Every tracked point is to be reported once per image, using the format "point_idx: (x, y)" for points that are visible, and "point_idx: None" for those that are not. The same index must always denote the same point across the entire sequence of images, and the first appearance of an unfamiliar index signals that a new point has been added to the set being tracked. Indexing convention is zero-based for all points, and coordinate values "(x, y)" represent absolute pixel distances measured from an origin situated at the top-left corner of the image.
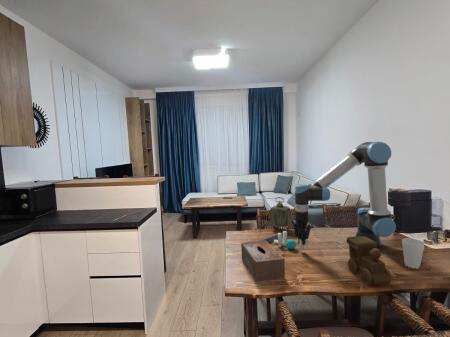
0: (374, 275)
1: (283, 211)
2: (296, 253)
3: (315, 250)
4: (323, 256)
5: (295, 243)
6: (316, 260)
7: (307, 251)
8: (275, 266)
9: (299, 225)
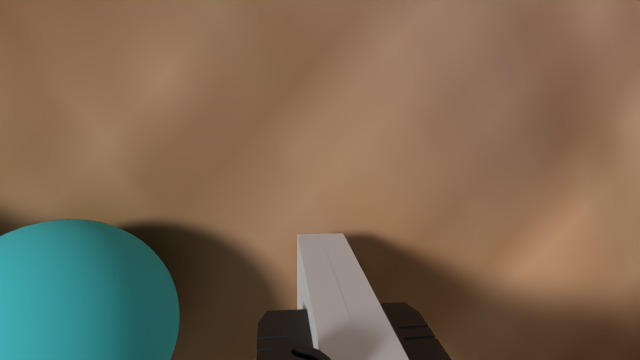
0: None
1: None
2: None
3: (433, 16)
4: (619, 143)
5: (152, 313)
6: (592, 321)
7: (359, 158)
8: None
9: None
